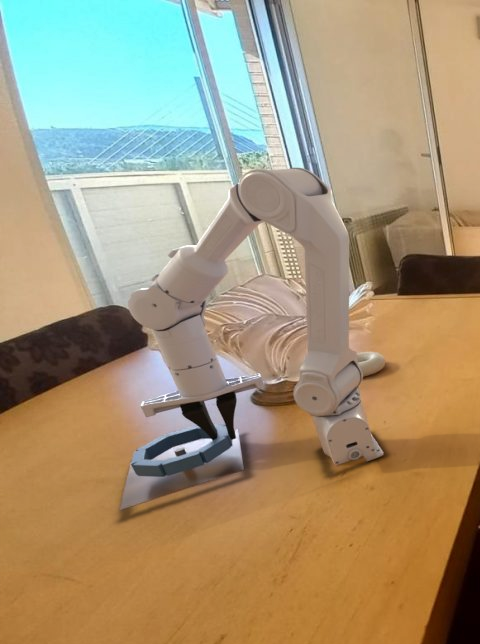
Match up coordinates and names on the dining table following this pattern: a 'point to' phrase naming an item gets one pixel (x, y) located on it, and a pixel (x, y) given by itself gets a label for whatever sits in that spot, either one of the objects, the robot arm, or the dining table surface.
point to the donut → (370, 362)
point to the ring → (161, 468)
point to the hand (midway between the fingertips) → (225, 439)
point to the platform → (181, 473)
